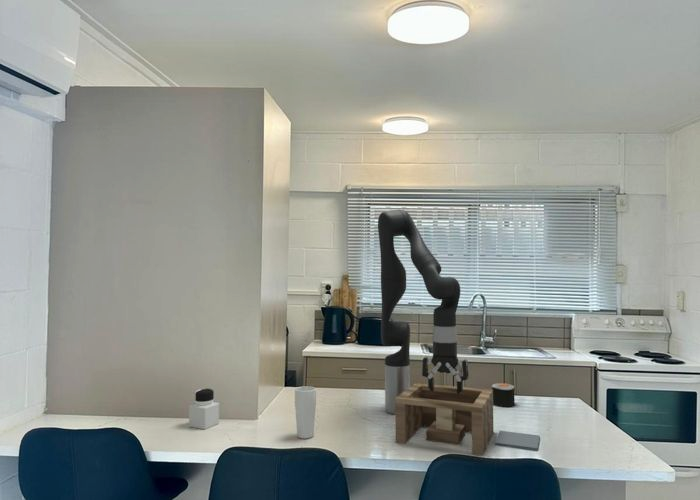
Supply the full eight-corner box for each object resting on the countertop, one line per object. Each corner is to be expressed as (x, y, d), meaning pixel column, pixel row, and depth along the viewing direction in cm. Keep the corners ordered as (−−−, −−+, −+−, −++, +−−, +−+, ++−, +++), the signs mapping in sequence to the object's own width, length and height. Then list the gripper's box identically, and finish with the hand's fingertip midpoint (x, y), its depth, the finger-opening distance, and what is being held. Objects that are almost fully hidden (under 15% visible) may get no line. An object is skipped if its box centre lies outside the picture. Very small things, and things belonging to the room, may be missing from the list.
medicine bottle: (219, 423, 170) (219, 388, 170) (205, 429, 163) (205, 393, 164) (203, 421, 173) (203, 386, 173) (188, 427, 166) (188, 391, 167)
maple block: (440, 424, 159) (439, 402, 160) (455, 426, 157) (455, 404, 157) (436, 428, 155) (436, 406, 155) (452, 431, 153) (451, 408, 153)
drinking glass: (294, 433, 160) (295, 386, 161) (315, 432, 161) (316, 385, 161) (294, 440, 153) (294, 391, 154) (316, 439, 154) (316, 391, 154)
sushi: (496, 400, 199) (496, 380, 199) (517, 404, 194) (517, 383, 194) (489, 405, 192) (488, 384, 192) (510, 408, 187) (510, 387, 188)
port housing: (415, 422, 171) (415, 382, 172) (493, 432, 161) (492, 390, 161) (395, 442, 151) (395, 398, 152) (482, 455, 141) (482, 407, 141)
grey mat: (499, 432, 160) (499, 430, 160) (539, 438, 155) (539, 435, 155) (494, 445, 149) (494, 442, 149) (537, 451, 144) (537, 448, 144)
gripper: (469, 339, 157) (470, 391, 157) (426, 337, 163) (426, 387, 163) (465, 343, 151) (465, 396, 150) (419, 340, 156) (420, 392, 156)
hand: (445, 391), depth 156 cm, fingers open, 8 cm apart
